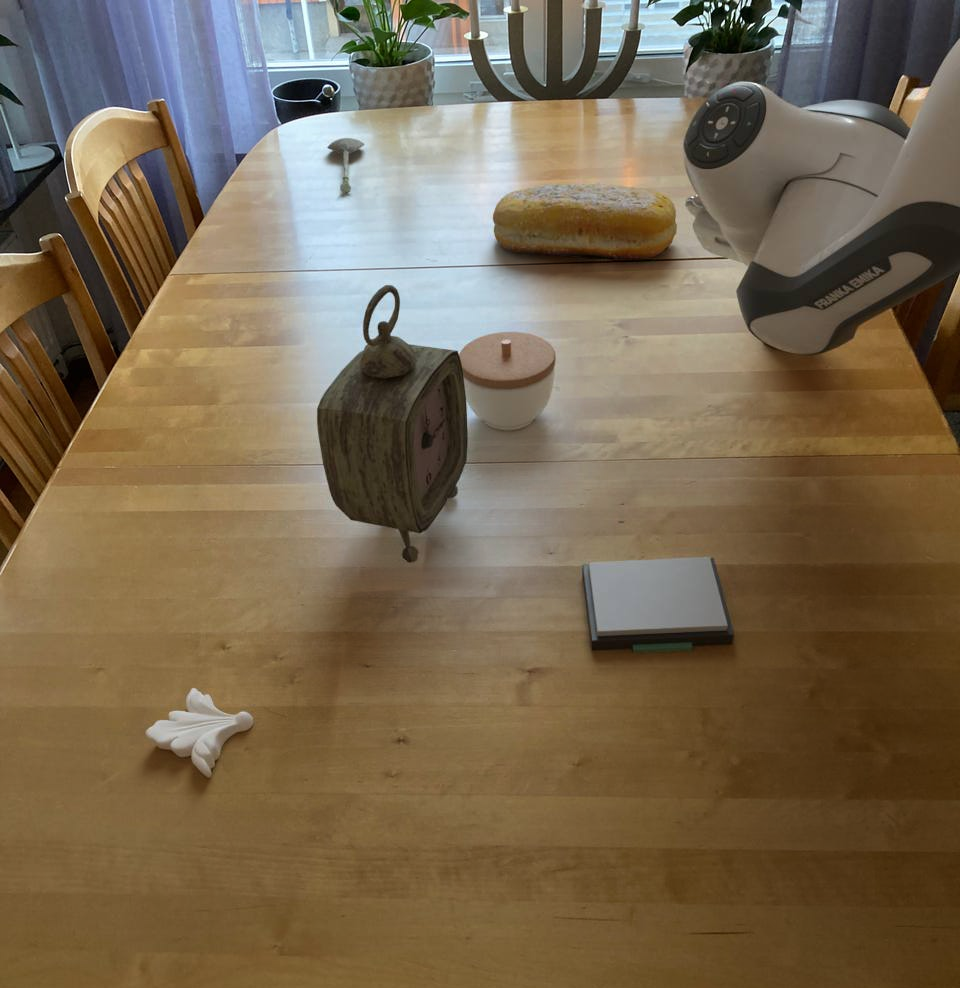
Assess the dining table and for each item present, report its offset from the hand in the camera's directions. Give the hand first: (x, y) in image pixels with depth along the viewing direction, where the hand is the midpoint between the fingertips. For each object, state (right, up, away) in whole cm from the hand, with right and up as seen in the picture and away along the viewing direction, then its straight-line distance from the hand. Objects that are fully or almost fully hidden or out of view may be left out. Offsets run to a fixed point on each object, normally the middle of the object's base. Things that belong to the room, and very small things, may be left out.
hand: (811, 281), depth 103 cm
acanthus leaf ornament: (-57, -45, -19) cm, 75 cm away
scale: (-18, -35, -12) cm, 42 cm away
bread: (-19, +21, +44) cm, 52 cm away
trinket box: (-31, -11, +13) cm, 35 cm away
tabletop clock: (-41, -25, 0) cm, 48 cm away
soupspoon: (-57, +44, +70) cm, 101 cm away
